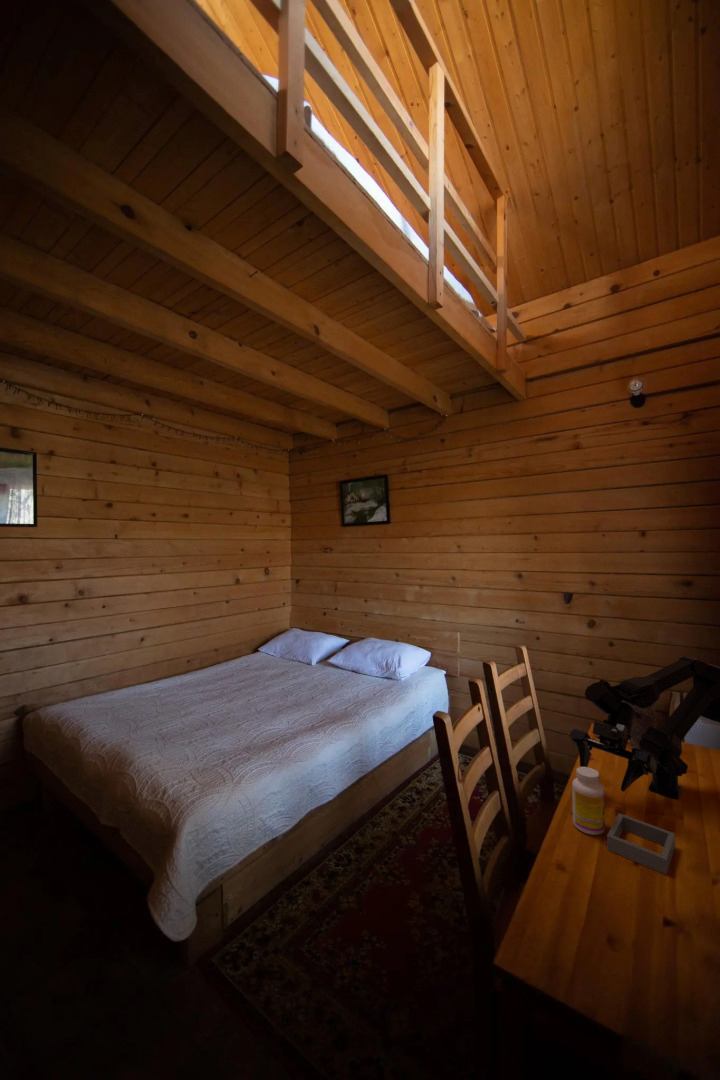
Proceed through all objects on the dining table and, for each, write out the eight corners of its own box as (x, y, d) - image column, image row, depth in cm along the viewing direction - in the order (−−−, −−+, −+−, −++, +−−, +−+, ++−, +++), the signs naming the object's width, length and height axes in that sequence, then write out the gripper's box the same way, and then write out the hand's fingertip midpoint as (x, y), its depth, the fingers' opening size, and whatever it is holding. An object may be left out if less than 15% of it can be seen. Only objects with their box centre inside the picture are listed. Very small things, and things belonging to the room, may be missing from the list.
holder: (619, 825, 101) (619, 813, 101) (675, 847, 94) (674, 833, 94) (607, 849, 93) (606, 835, 93) (666, 875, 86) (666, 859, 86)
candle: (623, 745, 141) (622, 683, 141) (645, 743, 141) (643, 682, 142) (640, 756, 133) (639, 691, 133) (663, 755, 134) (661, 690, 134)
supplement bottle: (609, 838, 97) (608, 780, 97) (577, 834, 98) (576, 778, 98) (599, 819, 103) (598, 765, 103) (569, 816, 105) (568, 763, 105)
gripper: (571, 698, 116) (551, 752, 109) (651, 719, 101) (634, 783, 94) (585, 719, 121) (567, 773, 114) (663, 742, 106) (648, 805, 99)
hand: (601, 782), depth 105 cm, fingers open, 9 cm apart
